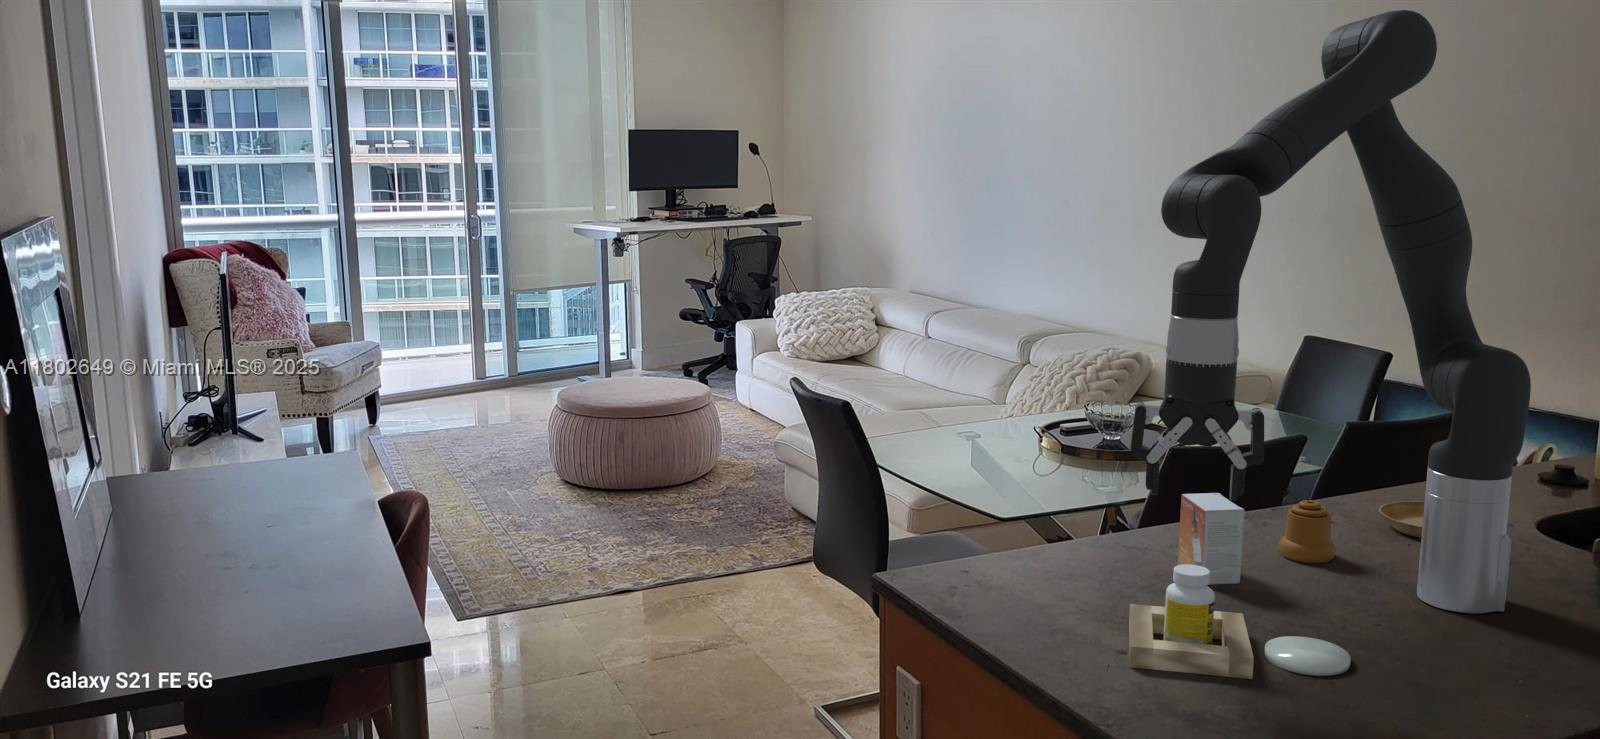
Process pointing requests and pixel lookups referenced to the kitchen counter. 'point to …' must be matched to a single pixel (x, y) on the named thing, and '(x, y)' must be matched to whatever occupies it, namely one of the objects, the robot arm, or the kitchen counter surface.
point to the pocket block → (1190, 645)
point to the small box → (1212, 536)
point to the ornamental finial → (1308, 534)
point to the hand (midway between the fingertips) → (1193, 496)
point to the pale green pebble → (1307, 656)
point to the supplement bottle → (1189, 606)
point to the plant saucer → (1405, 516)
